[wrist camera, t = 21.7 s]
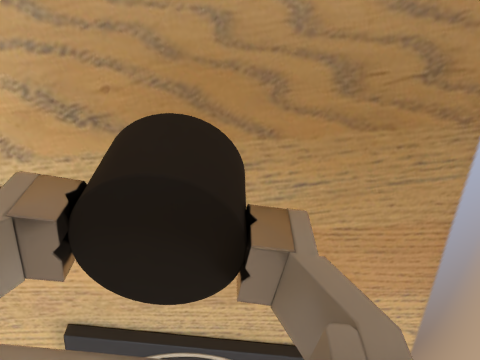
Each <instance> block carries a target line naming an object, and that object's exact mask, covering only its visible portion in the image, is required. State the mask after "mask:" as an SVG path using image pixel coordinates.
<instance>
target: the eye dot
mask: <svg viewBox="0 0 480 360" xmlns="http://www.w3.org/2000/svg"><path fill="white" fill-rule="evenodd" d="M68 225H69V230H68V240H69V243H70V246H71V251H72V253H73V255H74V257H75V259H76V261H77V262H78V264H79V265H80V266H81V268H82V269H83V270H84V271H85V272H86V273H87V274H88V275H89V276H90V277H91V278H92V279H93V280H95V281H96V282H97V283H98V284H100V285H101V286H103V287H104V288H106V289H108V290H110V291H112V292H114V293H116V294H118V295H120V296H123V297H125V298H129V299H132V300H135V301H139V302H143V303H150V304H159V305H176V304H185V303H190V302H195V301H198V300H202V299H205V298H207V297H209V296H212V295H214V294H215V293H217V292H219V291H221V290H222V289H223V288H225V287H226V286H227V285H228V284H230V283H231V282H232V281H233V280H234V278H235V277H236V276H237V274H238V273H239V271H240V269H241V265H242V264H243V263H244V261H245V249H246V244H247V229H246V194H245V170H244V164H243V161H242V158H241V156H240V154H239V152H238V150H237V148H236V147H235V145H234V144H233V143H232V141H231V140H230V139H229V138H228V137H227V136H226V135H225V134H224V133H222V132H221V131H220V130H219V129H217V128H216V127H214V126H213V125H211V124H209V123H207V122H205V121H203V120H201V119H198V118H195V117H192V116H188V115H183V114H174V113H165V114H156V115H151V116H147V117H144V118H141V119H139V120H137V121H135V122H133V123H131V124H130V125H128V126H127V127H126V128H124V129H123V130H122V131H121V132H120V133H119V134H118V135H117V136H116V138H115V139H114V141H113V142H112V144H111V146H110V147H109V149H108V151H107V152H106V154H105V156H104V157H103V159H102V161H101V163H100V164H99V166H98V168H97V169H96V171H95V173H94V174H93V176H92V178H91V179H90V181H89V183H88V184H87V186H86V188H85V189H84V191H83V193H82V194H81V196H80V198H79V199H78V201H77V203H76V204H75V206H74V208H73V210H72V212H71V215H70V217H69V224H68Z"/></svg>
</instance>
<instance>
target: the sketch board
mask: <svg viewBox="0 0 480 360" xmlns="http://www.w3.org/2000/svg"><path fill="white" fill-rule="evenodd" d="M64 342H65V349H66V350H71V351H82V352H92V353H103V354H113V355H124V356H134V357H145V358H155V359H166V360H304V358H303V357H302V355H301V354H300V352H299V350H298V349H297V347H296V346H286V345H276V344H266V343H255V342H245V341H235V340H224V339H214V338H204V337H194V336H183V335H173V334H163V333H152V332H142V331H132V330H122V329H111V328H101V327H91V326H80V325H70V324H69V325H68V326H67V329H66V331H65V334H64Z"/></svg>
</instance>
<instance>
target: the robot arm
mask: <svg viewBox="0 0 480 360" xmlns="http://www.w3.org/2000/svg"><path fill="white" fill-rule="evenodd" d="M86 186H87V184H86V183H85V181H81V180H74V179H68V178H62V177H56V176H49V175H41V174H36V173H29V172H22V171H20V172H17V173H15V174H14V175H13V176H12V177H11V178H10V179H9V180H8V181H7V182H6V183H5V184H4V185H3V186H2V187H1V188H0V298H1V297H3V296H4V295H5V294H7V293H8V292H9V291H11V290H12V289H14V288H15V287H16V286H18V285H19V284H21V283H22V282H23V281H25V278H26V279H38V280H49V281H61V282H64V280H65V278H66V276H67V274H68V272H69V270H70V268H71V266H72V265H73V263H74V261H75V258H74V255H73V253H72V251H71V246H70V243H69V240H68V230H69V225H68V224H69V217H70V215H71V212H72V210H73V208H74V206H75V204H76V203H77V201H78V199H79V198H80V196H81V194H82V193H83V191H84V189H85V188H86ZM246 229H247V244H246V249H245V261H244V263H243V264H242V265H241V269H240V271H239V273H238V277H237V301H240V302H247V303H254V304H262V305H269V306H271V308H272V310H273V312H274V313H275V315H276V316H277V318H278V319H279V321H280V322H281V324H282V326H283V327H284V329H285V330H286V332H287V333H288V335H289V336H290V338H291V340H292V341H293V343H294V344H295V346H296V347H297V349H298V350H299V352H300V354H301V355H302V357H303V358H304V360H413V358H412V356H411V353H410V351H409V349H408V346H407V344H406V341H405V339H404V336H403V334H402V331H401V329H400V328H399V327H398V326H397V325H396V324H395V323H394V322H393V321H392V320H391V319H390V318H389V317H388V316H386V315H385V314H384V313H383V312H382V311H381V310H380V309H379V308H378V307H377V306H376V305H375V304H374V303H373V302H372V301H371V300H370V299H369V298H368V297H367V296H365V295H364V294H363V293H362V292H361V291H360V290H359V289H358V288H357V287H356V286H355V285H354V284H353V283H352V282H351V281H350V280H349V279H348V278H347V277H346V276H344V275H343V274H342V273H341V272H340V271H339V270H338V269H337V268H336V267H335V266H334V265H333V264H332V263H331V262H330V261H329V260H328V259H327V258H326V257H323V256H319V254H318V250H317V246H316V242H315V239H314V235H313V231H312V227H311V223H310V219H309V215H308V213H307V211H305V210H296V209H282V208H274V207H267V206H259V205H252V204H248V205H247V208H246ZM0 360H166V359H155V358H145V357H134V356H124V355H113V354H103V353H92V352H82V351H71V350H60V349H50V348H39V347H29V346H18V345H8V344H0Z"/></svg>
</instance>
